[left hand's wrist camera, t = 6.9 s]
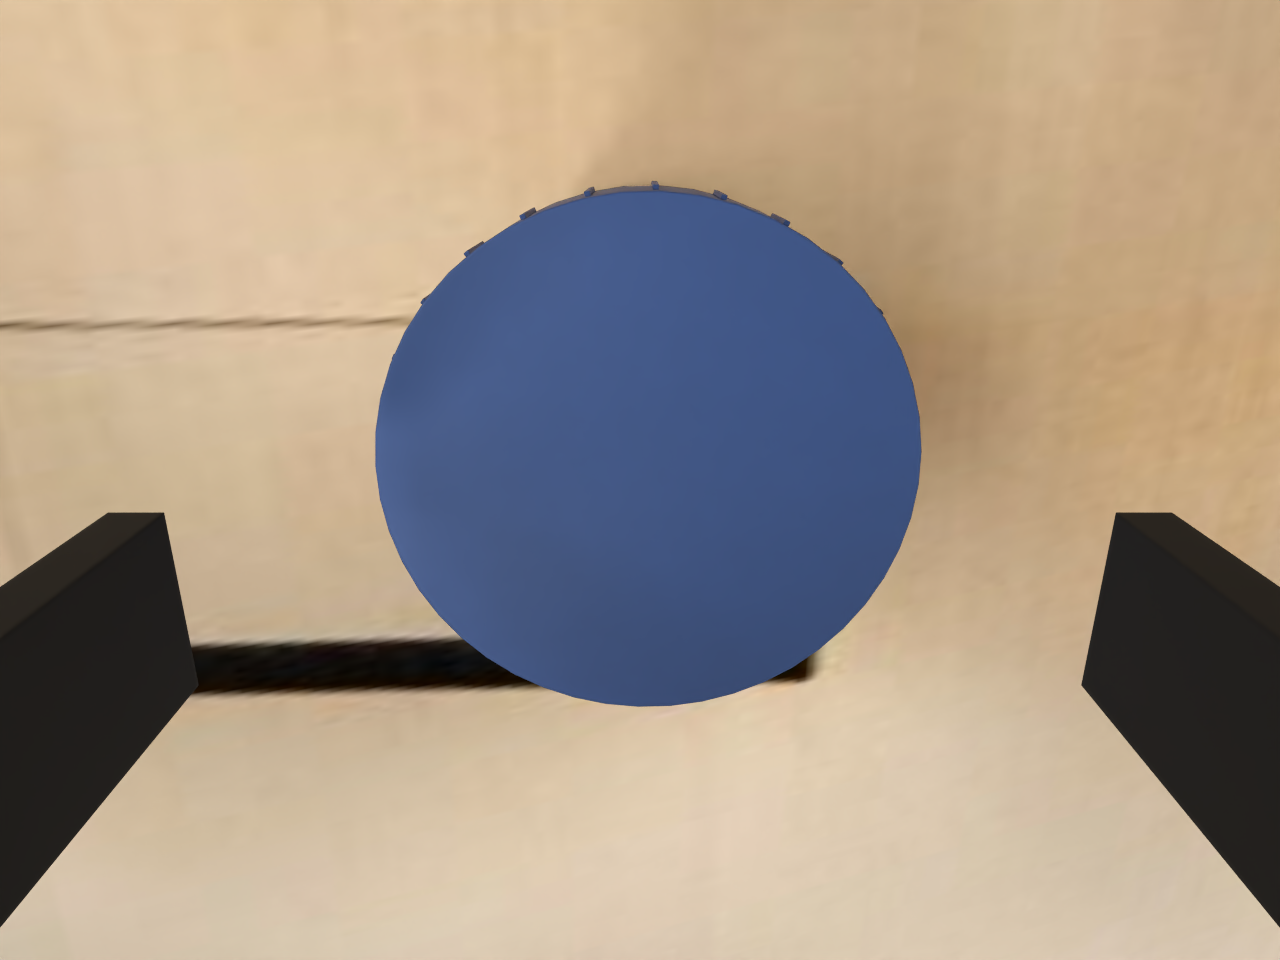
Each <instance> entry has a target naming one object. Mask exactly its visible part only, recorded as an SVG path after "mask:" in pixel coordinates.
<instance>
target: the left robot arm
mask: <svg viewBox="0 0 1280 960" xmlns="http://www.w3.org/2000/svg"><path fill="white" fill-rule="evenodd" d="M197 686H198V680H197V675H196V670H195V665H194V660H193V655H192V650H191V645H190V640H189V635H188V630H187V625H186V620H185V615H184V610H183V605H182V600H181V595H180V590H179V585H178V580H177V575H176V570H175V565H174V560H173V555H172V550H171V545H170V540H169V535H168V530H167V525H166V520H165V515H164V513H107V514H105V515H104V516H103V517H101V518H100V519H98V520H97V521H95V522H94V523H92V524H91V525H89V526H88V527H87V528H85V529H84V530H82V531H81V532H79V533H78V534H76V535H75V536H74V537H72V538H71V539H69V540H68V541H66V542H65V543H63V544H62V545H60V546H59V547H58V548H56V549H55V550H53V551H52V552H50V553H49V554H47V555H46V556H45V557H43V558H42V559H40V560H39V561H37V562H36V563H34V564H33V565H31V566H30V567H29V568H27V569H26V570H24V571H23V572H21V573H20V574H18V575H17V576H15V577H14V578H13V579H11V580H10V581H8V582H7V583H5V584H4V585H2V586H1V587H0V927H1V926H2V925H3V923H4V922H5V921H6V920H7V919H8V917H9V916H10V915H11V914H12V912H13V911H14V910H15V909H16V908H17V906H18V905H19V904H20V903H21V901H22V900H23V899H24V898H25V897H26V895H27V894H28V893H29V892H30V890H31V889H32V888H33V887H34V886H35V884H36V883H37V882H38V881H39V879H40V878H41V877H42V876H43V875H44V873H45V872H46V871H47V870H48V868H49V867H50V866H51V865H52V864H53V862H54V861H55V860H56V859H57V857H58V856H59V855H60V854H61V853H62V851H63V850H64V849H65V848H66V846H67V845H68V844H69V843H70V842H71V840H72V839H73V838H74V837H75V835H76V834H77V833H78V832H79V831H80V829H81V828H82V827H83V826H84V824H85V823H86V822H87V821H88V820H89V818H90V817H91V816H92V815H93V813H94V812H95V811H96V810H97V809H98V807H99V806H100V805H101V804H102V803H103V801H104V800H105V799H106V798H107V796H108V795H109V794H110V793H111V792H112V790H113V789H114V788H115V787H116V785H117V784H118V783H119V782H120V781H121V779H122V778H123V777H124V776H125V774H126V773H127V772H128V771H129V770H130V768H131V767H132V766H133V765H134V763H135V762H136V761H137V760H138V759H139V757H140V756H141V755H142V754H143V752H144V751H145V750H146V749H147V748H148V746H149V745H150V744H151V743H152V741H153V740H154V739H155V738H156V737H157V735H158V734H159V733H160V732H161V730H162V729H163V728H164V727H165V726H166V724H167V723H168V722H169V721H170V719H171V718H172V717H173V716H174V715H175V713H176V712H177V711H178V710H179V708H180V707H181V706H182V705H183V704H184V702H185V701H186V700H187V699H188V697H189V696H190V695H191V694H192V693H193V691H194V690H195V689H196V688H197ZM1082 686H1083V688H1084V689H1085V690H1086V691H1087V693H1088V694H1089V695H1090V696H1091V697H1092V699H1093V700H1094V701H1095V702H1096V704H1097V705H1098V706H1099V707H1100V708H1101V710H1102V711H1103V712H1104V713H1105V715H1106V716H1107V717H1108V718H1109V719H1110V721H1111V722H1112V723H1113V724H1114V726H1115V727H1116V728H1117V729H1118V730H1119V732H1120V733H1121V734H1122V735H1123V737H1124V738H1125V739H1126V740H1127V741H1128V743H1129V744H1130V745H1131V746H1132V748H1133V749H1134V750H1135V751H1136V752H1137V754H1138V755H1139V756H1140V757H1141V759H1142V760H1143V761H1144V762H1145V763H1146V765H1147V766H1148V767H1149V768H1150V770H1151V771H1152V772H1153V773H1154V774H1155V776H1156V777H1157V778H1158V779H1159V781H1160V782H1161V783H1162V784H1163V785H1164V787H1165V788H1166V789H1167V790H1168V792H1169V793H1170V794H1171V795H1172V796H1173V798H1174V799H1175V800H1176V801H1177V803H1178V804H1179V805H1180V806H1181V807H1182V809H1183V810H1184V811H1185V812H1186V813H1187V815H1188V816H1189V817H1190V818H1191V820H1192V821H1193V822H1194V823H1195V824H1196V826H1197V827H1198V828H1199V829H1200V831H1201V832H1202V833H1203V834H1204V835H1205V837H1206V838H1207V839H1208V840H1209V842H1210V843H1211V844H1212V845H1213V846H1214V848H1215V849H1216V850H1217V851H1218V853H1219V854H1220V855H1221V856H1222V857H1223V859H1224V860H1225V861H1226V862H1227V864H1228V865H1229V866H1230V867H1231V868H1232V870H1233V871H1234V872H1235V873H1236V875H1237V876H1238V877H1239V878H1240V879H1241V881H1242V882H1243V883H1244V884H1245V886H1246V887H1247V888H1248V889H1249V890H1250V892H1251V893H1252V894H1253V895H1254V897H1255V898H1256V899H1257V900H1258V901H1259V903H1260V904H1261V905H1262V906H1263V908H1264V909H1265V910H1266V911H1267V912H1268V914H1269V915H1270V916H1271V917H1272V919H1273V920H1274V921H1275V922H1276V923H1277V925H1278V926H1279V927H1280V587H1279V586H1278V585H1276V584H1275V583H1273V582H1272V581H1270V580H1269V579H1267V578H1266V577H1265V576H1263V575H1262V574H1260V573H1259V572H1257V571H1256V570H1254V569H1253V568H1251V567H1250V566H1249V565H1247V564H1246V563H1244V562H1243V561H1241V560H1240V559H1238V558H1237V557H1236V556H1234V555H1233V554H1231V553H1230V552H1228V551H1227V550H1225V549H1224V548H1222V547H1221V546H1220V545H1218V544H1217V543H1215V542H1214V541H1212V540H1211V539H1209V538H1208V537H1206V536H1205V535H1204V534H1202V533H1201V532H1199V531H1198V530H1196V529H1195V528H1193V527H1192V526H1191V525H1189V524H1188V523H1186V522H1185V521H1183V520H1182V519H1180V518H1179V517H1177V516H1176V515H1175V514H1173V513H1116V515H1115V520H1114V525H1113V530H1112V535H1111V540H1110V545H1109V550H1108V555H1107V560H1106V565H1105V570H1104V575H1103V580H1102V585H1101V590H1100V595H1099V600H1098V605H1097V610H1096V615H1095V620H1094V625H1093V630H1092V635H1091V640H1090V645H1089V650H1088V655H1087V660H1086V665H1085V670H1084V675H1083V680H1082Z"/></svg>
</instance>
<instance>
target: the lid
mask: <svg viewBox="0 0 1280 960" xmlns="http://www.w3.org/2000/svg"><path fill="white" fill-rule="evenodd" d="M520 218H521V220H519V221H518V222H516V223H514V224H513V225H511V226H509V227H508V228H506V229H505V230H503V231H502V232H500V233H499V234H497V235H496V236H494V237H493V238H491V239H490V240H488V241H487V242H485V243H484V242H483V241H482V242H481V243H479V244H477V245H476V246H474V247H472V248H471V249H469V250H467V251H466V252H465V253H464V255H465V256H466V258H465V259H464V260H463V261H461V262H460V263H459V264H458V265H457V266H456V267H455V268H453V269H452V270H451V271H450V272H449V273H448V274H447V275H446V276H445V278H444V279H443V280H442V281H441V282H440V283H439V285H438V286H437V287H436V288H435V289H434V290H433V292H432V293H431V294H429V295H428V296H427V297H425V298H424V299H423V300H422V301H421V304H422V306H421V307H420V309H419V310H418V312H417V313H416V315H415V317H414V318H413V320H412V321H411V323H410V324H409V326H408V328H407V329H406V331H405V333H404V335H403V337H402V339H401V341H400V344H399V346H398V348H397V350H396V353H395V354H394V355H393V357H392V361H391V364H390V367H389V370H388V374H387V377H386V380H385V384H384V387H383V391H382V394H381V398H380V404H379V411H378V418H377V425H376V473H377V480H378V488H379V495H380V501H381V504H382V508H383V511H384V515H385V518H386V522H387V526H388V529H389V532H390V534H391V537H392V539H393V541H394V544H395V546H396V548H397V551H398V553H399V555H400V558H401V560H402V562H403V564H404V565H405V567H406V569H407V571H408V572H409V574H410V576H411V577H412V579H413V581H414V582H415V584H416V586H417V587H418V589H419V590H420V592H421V593H422V594H423V596H424V597H425V598H426V599H427V601H428V602H429V603H430V604H431V606H432V607H433V608H434V610H435V611H436V612H437V613H438V615H439V616H440V617H441V618H442V619H443V620H444V621H445V622H446V623H447V624H448V625H449V626H450V627H451V628H452V629H453V630H454V631H455V632H456V633H457V634H458V635H459V636H460V637H461V638H463V639H464V640H465V641H466V642H468V643H469V644H470V645H472V646H473V647H474V648H475V649H477V650H478V651H479V652H481V653H482V654H483V655H484V656H486V657H487V658H489V659H490V660H492V661H494V662H495V663H497V664H499V665H500V666H502V667H503V668H505V669H507V670H508V671H510V672H512V673H513V674H515V675H517V676H520V677H522V678H524V679H526V680H528V681H531V682H533V683H535V684H537V685H539V686H542V687H544V688H547V689H550V690H553V691H556V692H559V693H562V694H566V695H569V696H572V697H575V698H580V699H585V700H590V701H595V702H600V703H605V704H614V705H626V706H637V707H640V706H672V705H680V704H687V703H694V702H702V701H706V700H710V699H714V698H718V697H722V696H726V695H730V694H733V693H736V692H739V691H741V690H744V689H747V688H749V687H752V686H755V685H757V684H760V683H763V682H765V681H767V680H769V679H771V678H773V677H774V676H776V675H778V674H780V673H782V672H784V671H786V670H788V669H790V668H792V667H794V666H795V665H796V664H798V663H799V662H801V661H802V660H804V659H805V658H807V657H808V656H810V655H811V654H813V653H814V652H816V651H817V650H819V649H820V648H821V647H822V646H824V645H825V644H826V643H827V642H828V641H829V640H831V639H832V638H833V637H834V636H835V635H836V634H837V633H839V632H840V631H841V630H842V629H843V628H844V627H845V626H846V625H847V624H848V623H849V622H850V621H851V620H852V618H853V617H854V616H855V615H856V614H857V613H858V612H859V611H860V610H861V609H862V607H863V606H864V605H865V604H866V603H867V601H868V600H869V598H870V597H871V596H872V594H873V593H874V591H875V590H876V589H877V587H878V586H879V584H880V583H881V581H882V580H883V579H884V577H885V575H886V573H887V571H888V570H889V568H890V566H891V564H892V562H893V560H894V558H895V556H896V554H897V553H898V551H899V549H900V546H901V543H902V541H903V538H904V535H905V533H906V530H907V527H908V525H909V522H910V519H911V516H912V511H913V507H914V503H915V498H916V494H917V489H918V485H919V473H920V462H921V435H920V417H919V412H918V407H917V402H916V397H915V392H914V386H913V382H912V379H911V377H910V374H909V371H908V368H907V365H906V362H905V359H904V356H903V354H902V351H901V349H900V347H899V345H898V343H897V341H896V339H895V337H894V335H893V333H892V331H891V329H890V327H889V326H888V324H887V322H886V320H885V318H884V317H883V315H882V314H883V312H882V311H881V309H879V308H878V307H876V305H875V304H874V303H873V301H872V300H871V298H870V297H869V296H868V294H867V293H866V291H865V290H864V289H863V288H862V287H861V285H860V284H859V283H858V282H857V281H856V280H855V279H854V278H853V277H852V276H851V275H850V274H849V273H848V272H847V271H846V270H845V269H844V268H843V267H842V266H841V265H842V264H843V262H842V261H841V260H840V259H838V258H836V257H835V256H833V255H831V254H829V253H827V252H826V251H824V250H822V249H821V248H820V247H818V246H817V245H816V244H815V243H813V242H812V241H811V240H809V239H808V238H806V237H805V236H803V235H801V234H800V233H798V232H796V231H794V230H793V229H791V228H789V227H788V226H789V224H790V222H789V221H787V220H785V219H783V218H781V217H779V216H777V215H775V214H773V213H772V215H771V217H770V216H768V215H766V214H764V213H762V212H760V211H758V210H756V209H753V208H751V207H748V206H746V205H743V204H741V203H739V202H736V201H734V200H731V199H729V198H727V195H726V194H724V193H722V192H720V191H717V190H714V193H713V194H710V193H706V192H702V191H698V190H694V189H687V188H678V187H669V186H659V184H658V182H657V181H652V186H622V187H616V188H610V189H604V190H599V191H595V189H594V187H591V188H588V189H587V190H586V191H585V192H584V194H581V195H578V196H575V197H572V198H568V199H565V200H562V201H559V202H556V203H553V204H551V205H549V206H547V207H545V208H543V209H541V210H539V211H537V212H536V209H535V208H532V209H530V210H528V211H527V212H525V213H523V214H521V215H520Z"/></svg>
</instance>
